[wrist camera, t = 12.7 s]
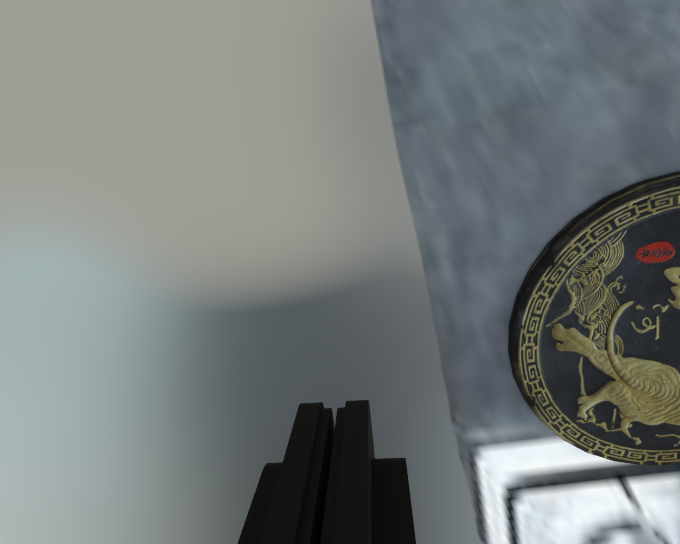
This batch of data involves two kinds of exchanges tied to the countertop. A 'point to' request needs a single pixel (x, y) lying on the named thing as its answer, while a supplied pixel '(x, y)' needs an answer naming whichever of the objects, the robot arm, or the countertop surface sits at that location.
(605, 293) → the decorative plate
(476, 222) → the countertop surface
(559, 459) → the countertop surface
